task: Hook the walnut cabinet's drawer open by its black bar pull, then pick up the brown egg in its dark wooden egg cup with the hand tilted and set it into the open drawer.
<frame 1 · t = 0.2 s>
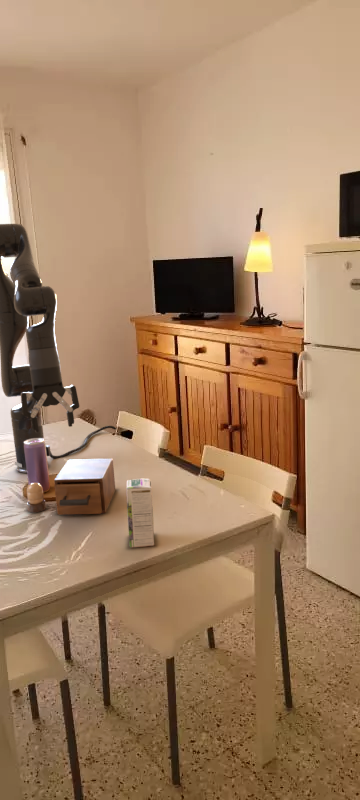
hand: (53, 429, 157), 22 cm above the table, tool pointing down, fingers open, 8 cm apart
cabinet: (87, 501, 167), on the table
beverage can: (39, 491, 177), on the table
drawer: (82, 492, 161), point 5 cm above the table, slide at 1.0 cm
syrup box: (142, 542, 143), on the table
egg: (36, 508, 164), on the table
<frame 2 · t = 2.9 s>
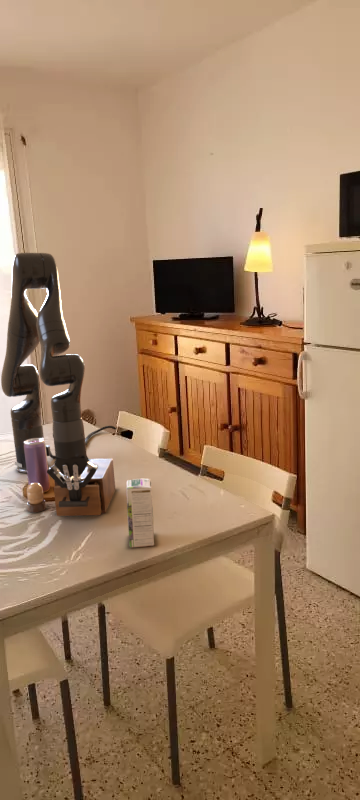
hand: (76, 502, 154), 5 cm above the table, tool pointing down, fingers closed
drawer: (81, 493, 160), point 5 cm above the table, slide at 1.8 cm, touching gripper
everything else where it was.
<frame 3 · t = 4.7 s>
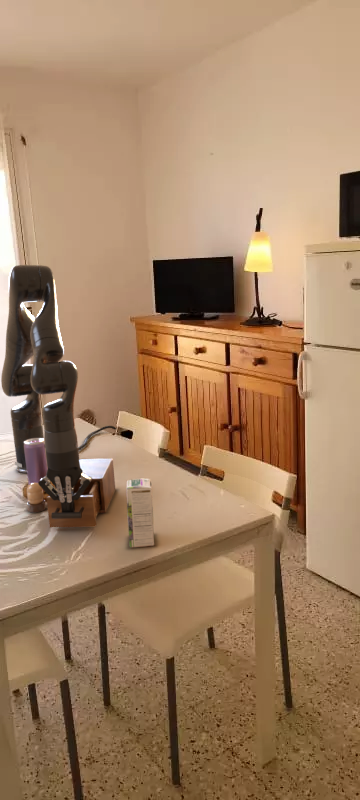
hand: (68, 515, 147), 5 cm above the table, tool pointing down, fingers closed
drawer: (75, 504, 154), point 5 cm above the table, slide at 8.5 cm
everything else where it was.
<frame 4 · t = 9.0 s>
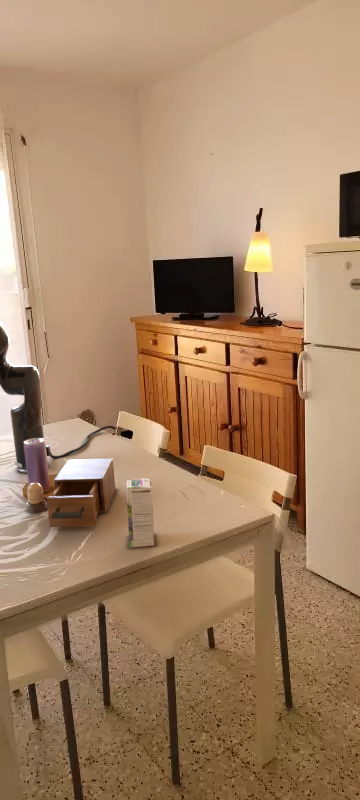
nothing on the table moved.
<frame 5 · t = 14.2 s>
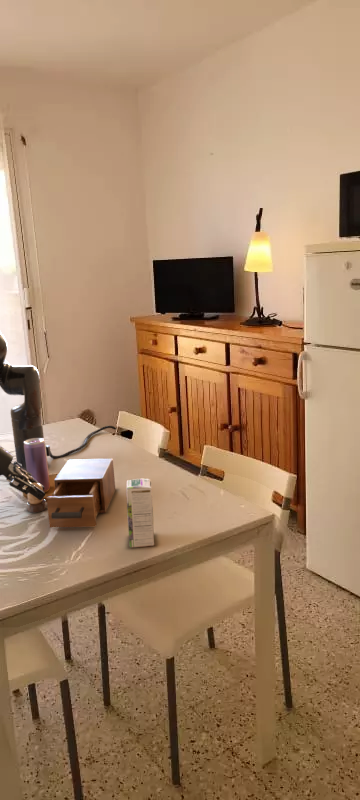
hand: (42, 493, 164), 4 cm above the table, tool tilted 45°, fingers closed on egg, 4 cm apart
egg: (36, 508, 164), on the table, touching gripper
everything else where it was.
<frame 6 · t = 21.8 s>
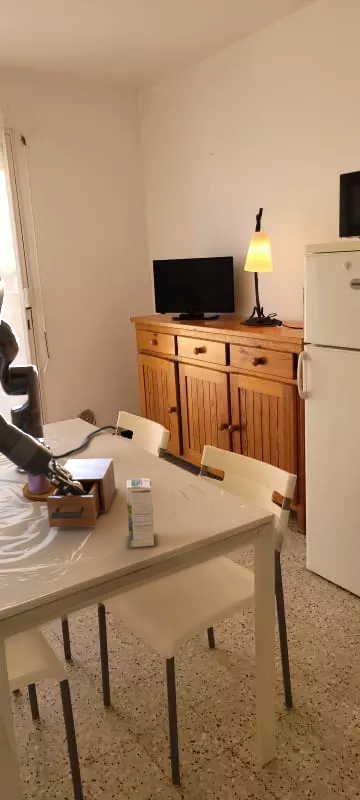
hand: (82, 493, 154), 7 cm above the table, tool tilted 45°, fingers closed on egg, 4 cm apart
egg: (76, 509, 155), point 3 cm above the table, touching gripper
everything else where it was.
when the fingers open (8 cm above the table, at t = 26.3 s): egg drops 2 cm, resting on drawer.
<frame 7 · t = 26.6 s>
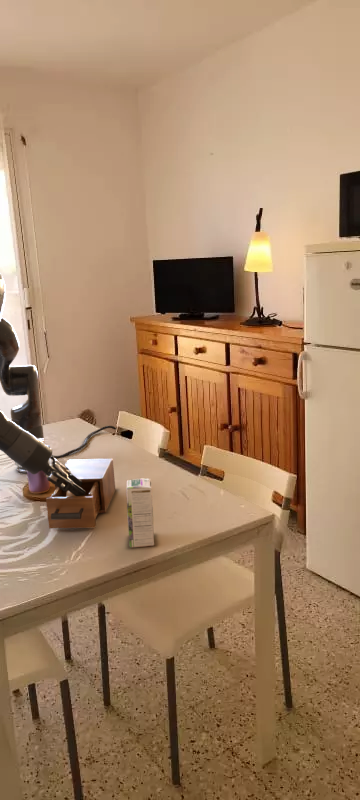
hand: (81, 490, 154), 8 cm above the table, tool tilted 45°, fingers open, 6 cm apart
drawer: (75, 504, 154), point 5 cm above the table, slide at 9.0 cm, touching egg, gripper
egg: (76, 514, 155), point 2 cm above the table, touching drawer
everything else where it was.
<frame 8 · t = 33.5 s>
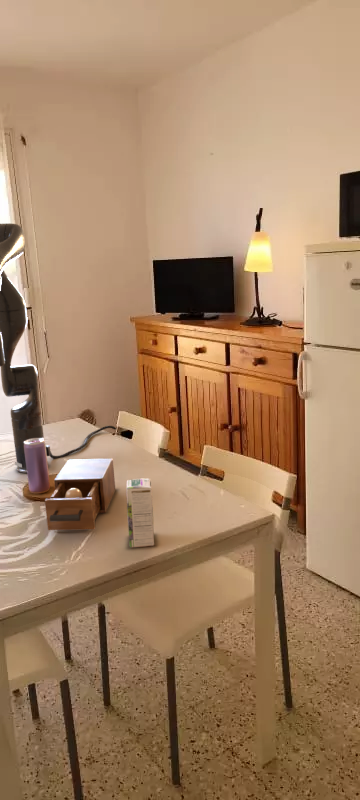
drawer: (74, 506, 153), point 5 cm above the table, slide at 10.0 cm, touching egg
everything else where it was.
at the end: drawer slide at 10.0 cm; egg inside the target area in the drawer (1.6 cm from its centre), point 2.0 cm above the cabinet's base; egg tilted 0° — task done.
